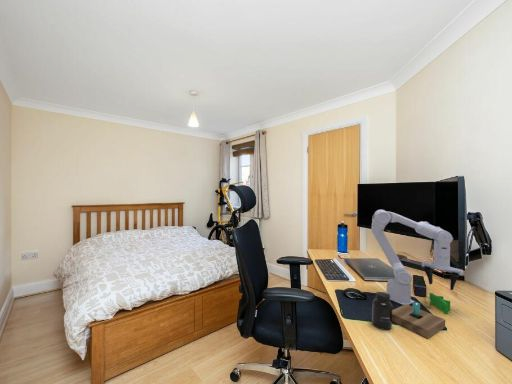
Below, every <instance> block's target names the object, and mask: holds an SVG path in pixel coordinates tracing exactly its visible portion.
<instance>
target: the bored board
mask: <svg viewBox="0 0 512 384" xmlns="http://www.w3.org/2000/svg"><path fill="white" fill-rule="evenodd" d="M412 310H413V305H411V304H409V305H408V304H405V305H401V306H399V307H396V308H394V309H393V310H392V323H394V324H396V325H398V326H401V327H403V328H404V329H407V330H409V331H411V332H413V333H415V334H417V335H419V336H421V337H423V338H426V339H427V340H429V339H430V338H431V337H433V336H434V335H436V334H438V333H440V331H442V330H444V329H445V328H446V318H445V319H444V318H442V317H440V316H438V315H434V314H432V313H430V312H427V311H425V310H423V309H420V319H417V318H415V317H412Z"/></svg>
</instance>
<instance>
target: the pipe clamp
mask: <svg viewBox="0 0 512 384" xmlns="http://www.w3.org/2000/svg"><path fill="white" fill-rule="evenodd" d="M428 298H430V299H431V305H433V306H434V307H436V308H437V309H438V310H439V311H441V312H442V313H443V314H444V315H449V312H451V301H450V300H448V299H444V295H436V294H435V293H433V292H429V297H428Z"/></svg>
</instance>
